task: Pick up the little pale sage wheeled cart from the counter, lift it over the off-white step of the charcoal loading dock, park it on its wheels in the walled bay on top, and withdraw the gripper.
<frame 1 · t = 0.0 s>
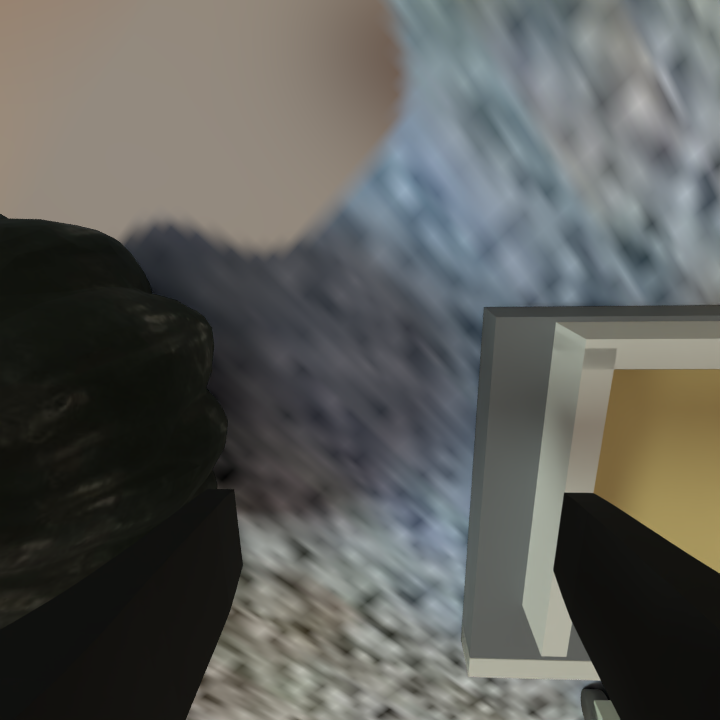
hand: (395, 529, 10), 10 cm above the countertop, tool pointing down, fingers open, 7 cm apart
squash: (101, 374, 20), on the countertop
dock: (643, 496, 21), on the countertop
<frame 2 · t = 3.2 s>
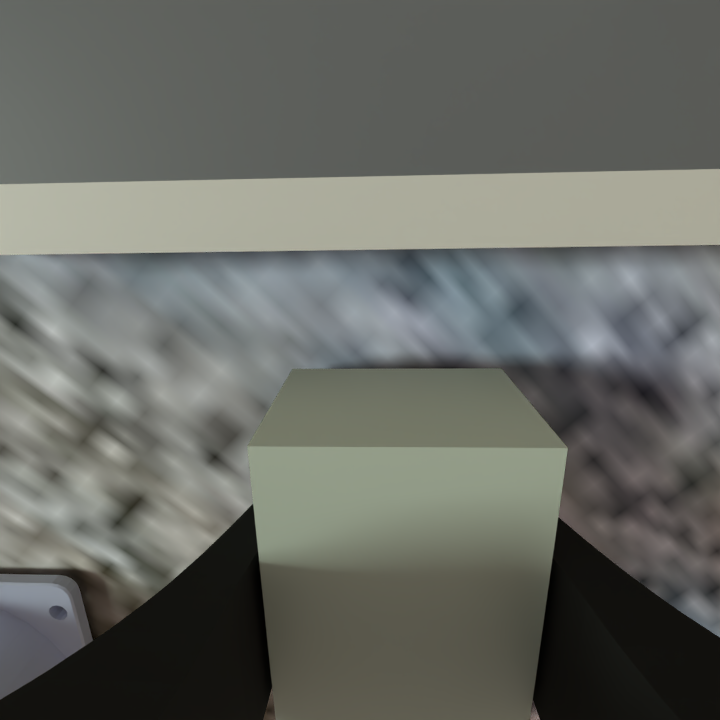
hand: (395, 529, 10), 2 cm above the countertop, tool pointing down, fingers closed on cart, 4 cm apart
cart: (392, 481, 11), on the countertop, touching gripper
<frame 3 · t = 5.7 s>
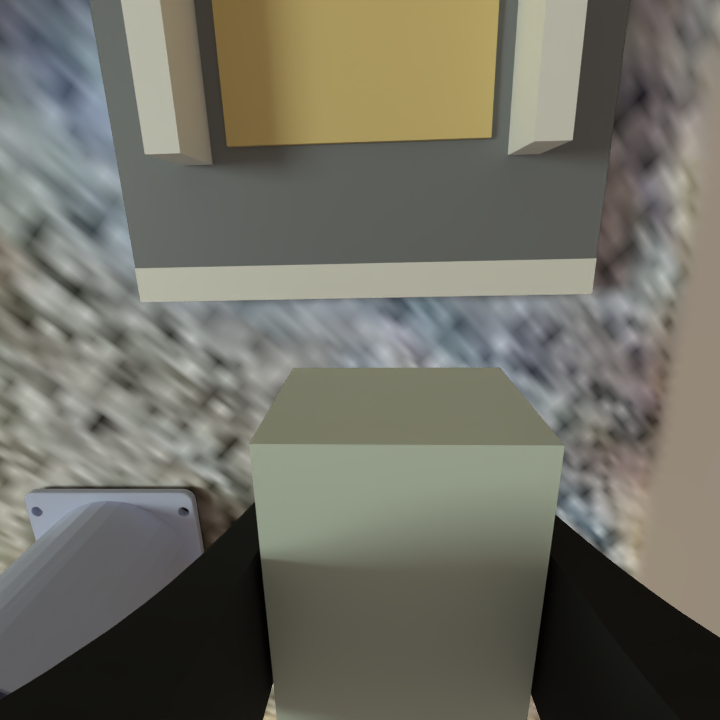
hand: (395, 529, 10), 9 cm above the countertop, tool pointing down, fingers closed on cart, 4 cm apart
cart: (392, 479, 12), point 7 cm above the countertop, touching gripper
dock: (357, 22, 15), on the countertop
when the fingers open (5 cm above the countertop, at t = 8.5 s): cart drops 1 cm, resting on dock.
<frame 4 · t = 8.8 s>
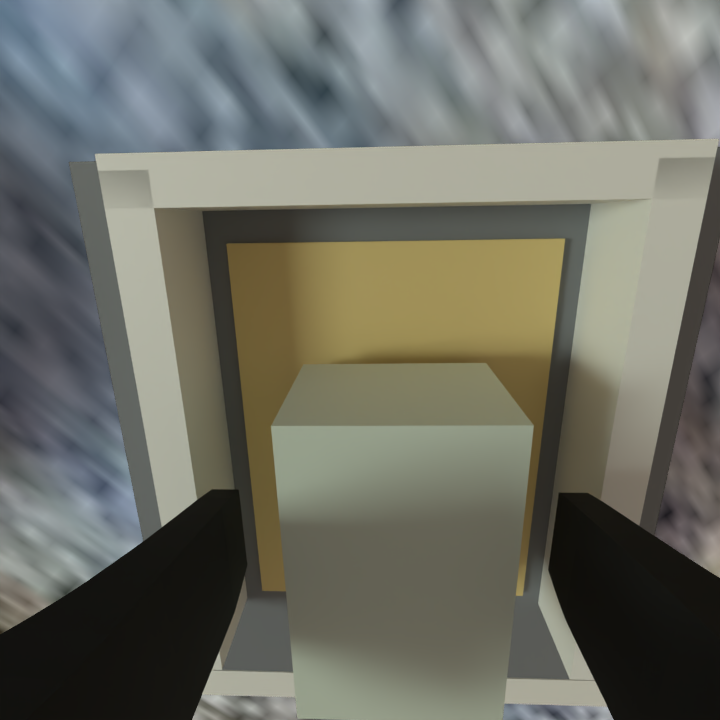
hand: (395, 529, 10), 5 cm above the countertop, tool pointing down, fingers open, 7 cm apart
cart: (392, 465, 13), point 2 cm above the countertop, touching dock
dock: (389, 449, 15), on the countertop
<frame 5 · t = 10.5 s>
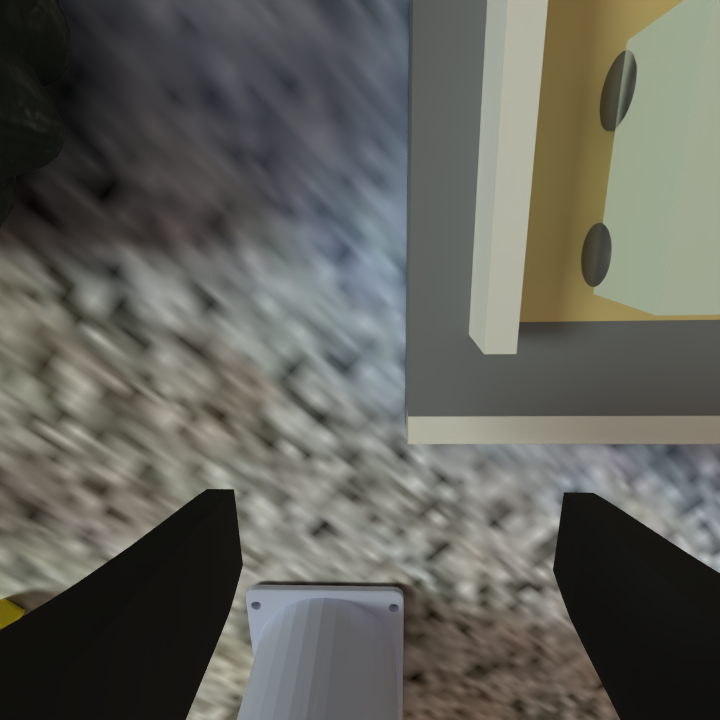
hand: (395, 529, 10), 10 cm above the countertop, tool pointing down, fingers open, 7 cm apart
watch: (6, 616, 25), on the countertop
cart: (660, 178, 14), point 2 cm above the countertop, touching dock
dock: (620, 203, 17), on the countertop
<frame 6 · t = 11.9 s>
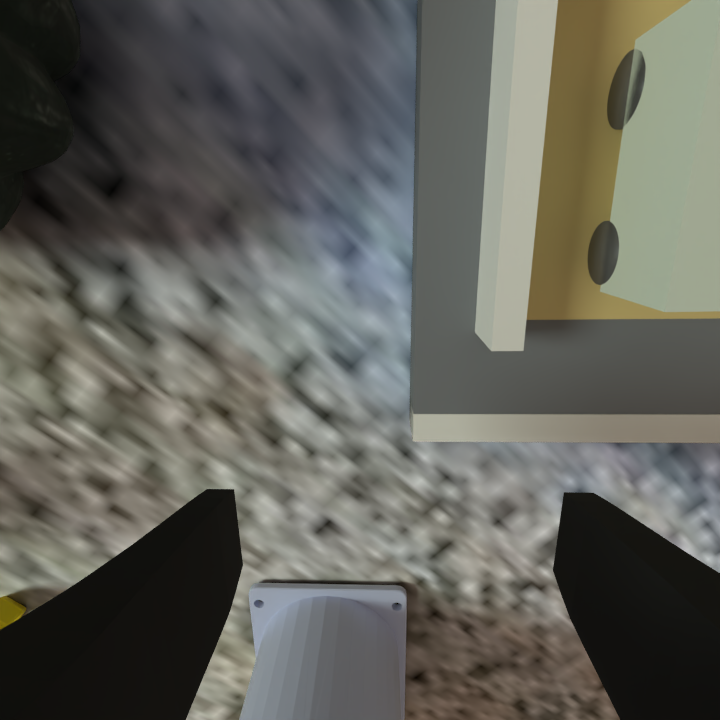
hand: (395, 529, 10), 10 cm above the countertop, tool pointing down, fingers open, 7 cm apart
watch: (7, 614, 24), on the countertop
cart: (666, 177, 14), point 2 cm above the countertop, touching dock
dock: (626, 202, 17), on the countertop
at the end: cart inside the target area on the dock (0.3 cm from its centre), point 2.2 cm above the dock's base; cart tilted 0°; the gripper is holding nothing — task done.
